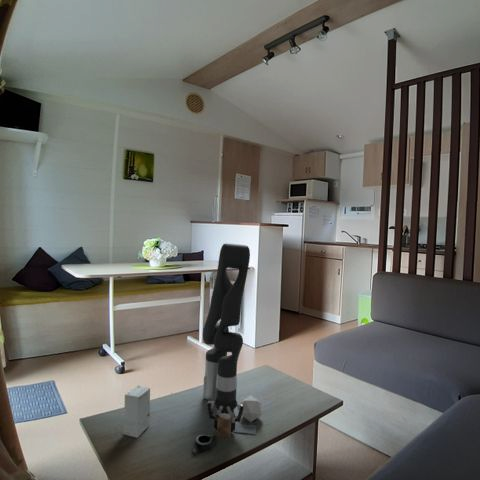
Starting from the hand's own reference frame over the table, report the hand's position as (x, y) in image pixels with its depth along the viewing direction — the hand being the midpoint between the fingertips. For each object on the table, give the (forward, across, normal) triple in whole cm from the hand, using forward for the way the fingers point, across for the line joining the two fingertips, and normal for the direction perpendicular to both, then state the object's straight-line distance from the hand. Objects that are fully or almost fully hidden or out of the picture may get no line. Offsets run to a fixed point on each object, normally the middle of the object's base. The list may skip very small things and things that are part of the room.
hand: (224, 430), depth 129 cm
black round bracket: (+1, -6, -9) cm, 11 cm away
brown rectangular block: (+1, 0, 0) cm, 1 cm away
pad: (+1, +8, +3) cm, 8 cm away
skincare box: (+1, -32, -4) cm, 32 cm away
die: (+1, +9, +11) cm, 14 cm away
